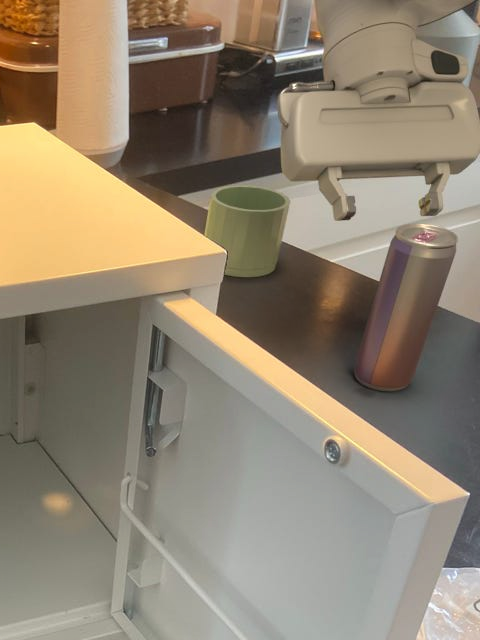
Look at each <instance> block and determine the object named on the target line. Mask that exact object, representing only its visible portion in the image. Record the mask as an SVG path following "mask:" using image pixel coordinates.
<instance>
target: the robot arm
mask: <svg viewBox="0 0 480 640" xmlns="http://www.w3.org/2000/svg"><path fill="white" fill-rule="evenodd" d="M477 1H478V0H314V11H315V19H316V26H317V30H318V33H319V35H320V37H321V39H322V42H323V52H322V59H321V64H322V65H321V66H322V74H323V81H314V82H302V81H295V82H292V83H290V84H289V85H288V86H287V87H285V88H284V89H282V90H281V91H280V92H279V94H278V96H277V99H276V108H277V109H276V111H277V117H278V121H279V123H280V124H281V129H280V165H281V172H282V174H283V175H284V176H285V177H286V178H287V180H288V181H290V182H310V181H311V182H313V181H317V182H318V183H317V184H318V189H319V190H318V191H320V193H321V194H322V196H323V197H324V198H325V199H326V201H327V202H328V203H329V204H330V206H332V214H333V220H334V221H335V222H342V221H350V220H352V218H353V217H354V216H355V215H356V213H357V206H356V205H355V203H356V197H355V195H347V193H346V191H345V190H344V188H343V186H342V185H341V184H340V182H339V181H341V180H358V179H360V180H361V179H380V178H381V179H382V178H384V179H385V178H402V177H403V178H404V177H405V178H406V177H407V178H408V177H424V181H425V183H424V184H425V185H426V186H428V185H430V187H429V190H428V192H427V193H426V194H425V195H424V196H423V197H421V198H420V199H419V200H418V208H419V209H420V210H419V215H420V217H436V216H437V215H438V214H440V213H441V212H442V211H443V209H444V200H443V199H444V198H443V192H444V190H445V187H446V185H447V183H448V181H449V178H450V176H451V175H453V176H455V175H459V174H461V173H462V172H463V171H464V170H466V169H467V168H468V167H470V166H471V165H472V164H473V163H474V162H475V161H476V160H477V159H478V157H479V156H480V114H479V110H478V105H477V102H476V99H475V96H474V94H473V92H472V91H471V89H470V88H469V87H468V86H467V85H466V84H464V83H463V82H464V81H465V79H467V77H468V76H469V74H470V73H469V72H470V71H469V63H468V60H467V58H465V57H464V56H462V55H460V54H456V53H453V52H449V51H448V50H444V49H441V48H438V47H436V46H433V45H432V44H429V43H427V42H425V41H423V40H421V39H418V38H417V36H416V29H417V28H418V27H419V28H420V27H422V26H423V27H424V26H427V25H430V24H432V23H436V22H438V21H439V20H442V19H444V18H446V17H449V16H451V15H453V14H455V13H457V12H460V11H461V10H463V9H466V8H467V7H470V6H471V5H472V4H473V3H475V2H477Z"/></svg>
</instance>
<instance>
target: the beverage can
mask: <svg viewBox="0 0 480 640" xmlns="http://www.w3.org/2000/svg"><path fill="white" fill-rule="evenodd" d="M458 241H459V238H458V235H457V234H456V233H455V232H454V231H451V230H450V229H447V228H444V227H441V226H438V225H434V224H428V223H408V224H403V225H400V226H398V227H397V228H396V230H395V234H394V236H393V237H392V238H391V240H390V243H389V246H388V250H387V253H386V258H385V260H384V263H383V267H382V270H381V274H380V277H379V281H378V284H377V287H376V292H375V293H374V296H373V297H374V298H373V300H372V301H373V302H372V305H371V308H370V312H369V315H368V319H367V322H366V325H365V329H364V332H363V335H362V339H361V342H360V346H359V349H358V352H357V356H356V359H355V362H354V366H353V373H354V377H355V379H356V381H358V383H360V384H361V385H362V386H364V387H366V388H368V389H371V390H375V391H379V392H398V391H402V390H403V389H405V388H407V386H409V385H410V384H411V383H412V382H413V380H414V376H415V374H416V371H417V367H418V365H419V363H420V358H421V356H422V353H423V350H424V347H425V344H426V341H427V338H428V335H429V333H430V330H431V326H432V324H433V322H434V318H435V315H436V312H437V309H438V307H439V303H440V299H441V297H442V294H443V292H444V291H443V290H444V289H445V285H446V282H447V280H448V276H449V275H450V271H451V268H452V265H453V262H454V259H455V256H456V253H457V243H458Z"/></svg>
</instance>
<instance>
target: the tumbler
mask: <svg viewBox="0 0 480 640" xmlns="http://www.w3.org/2000/svg"><path fill="white" fill-rule="evenodd" d="M290 205H291V200H290V198H289V197H288V196H287V195H286V194H284V193H282V192H280V191H278V190H275V189H272V188H268V187H264V186H259V185H251V184H250V185H249V184H248V185H247V184H235V185H226V186H222V187H221V186H220V187H218V188H216V189H214V190H213V191H212V192H211V193H210V199H209V203H208V210H207V216H206V222H205V229H204V235H205V236H207V237H208V238H209V239H211V240H213V241H214V242H216V243H218V244H219V245H221V246H223V247H224V248H225V249H226V250H227V251H228V260H227V266H226V270H225V274H224V275H223V276H229V277H234V278H258V277H263V276H267V275H270V274H272V273H273V272H274V271H275V270H276V268H277V264H278V261H279V256H280V252H281V248H282V242H283V238H284V235H285V228H286V224H287V220H288V215H289V212H290V211H289V210H290ZM204 235H203V236H204Z"/></svg>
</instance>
